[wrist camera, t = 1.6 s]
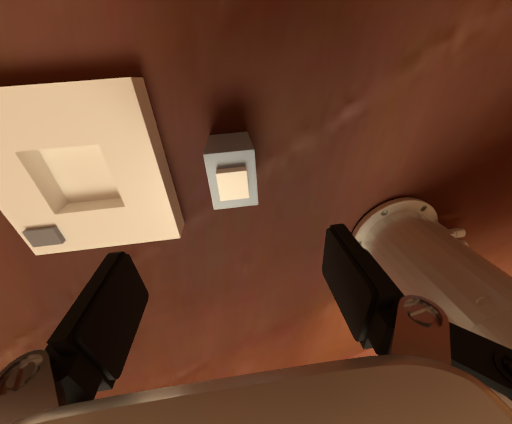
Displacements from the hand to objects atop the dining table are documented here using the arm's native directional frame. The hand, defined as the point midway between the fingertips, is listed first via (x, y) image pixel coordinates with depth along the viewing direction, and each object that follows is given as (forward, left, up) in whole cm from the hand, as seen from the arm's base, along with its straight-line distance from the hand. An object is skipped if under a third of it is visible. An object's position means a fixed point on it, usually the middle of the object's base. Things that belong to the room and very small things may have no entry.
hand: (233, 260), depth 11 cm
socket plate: (+15, 0, -16) cm, 22 cm away
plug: (0, 0, -16) cm, 16 cm away
